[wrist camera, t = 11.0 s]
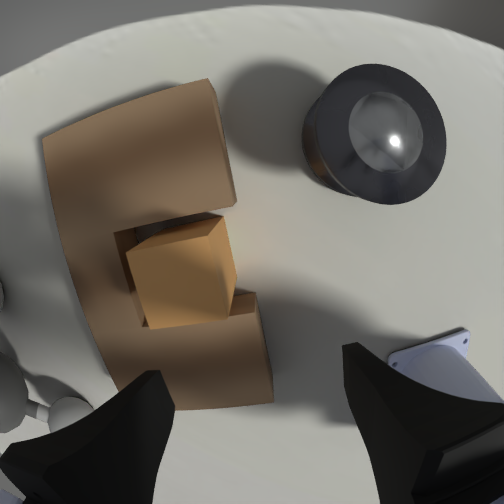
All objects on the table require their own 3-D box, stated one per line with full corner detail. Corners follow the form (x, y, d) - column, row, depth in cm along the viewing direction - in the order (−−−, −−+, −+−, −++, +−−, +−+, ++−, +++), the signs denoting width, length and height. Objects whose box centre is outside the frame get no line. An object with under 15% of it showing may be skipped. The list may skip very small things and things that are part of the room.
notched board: (272, 376, 22) (273, 402, 19) (140, 387, 22) (128, 410, 20) (215, 92, 17) (207, 78, 14) (67, 140, 18) (42, 138, 15)
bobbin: (412, 189, 18) (453, 195, 13) (312, 204, 18) (331, 215, 14) (393, 86, 16) (429, 65, 11) (291, 93, 17) (302, 67, 12)
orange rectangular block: (237, 276, 20) (227, 319, 14) (178, 286, 20) (150, 329, 14) (223, 216, 19) (207, 235, 13) (163, 228, 19) (125, 252, 13)
